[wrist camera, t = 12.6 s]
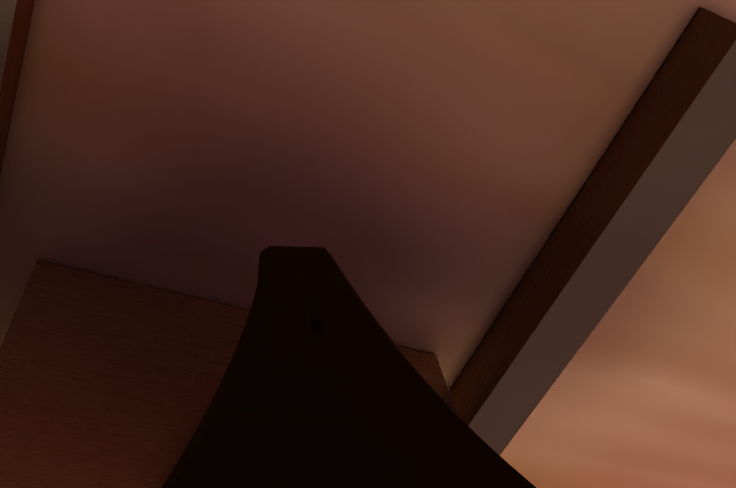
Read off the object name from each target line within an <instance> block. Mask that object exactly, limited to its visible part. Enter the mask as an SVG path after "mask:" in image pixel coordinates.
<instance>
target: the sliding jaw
mask: <svg viewBox="0 0 736 488" xmlns="http://www.w3.org/2000/svg"><path fill="white" fill-rule="evenodd" d="M249 312H250V311H248V310H244V309H240V308H236V307H232V306H227V305H223V304H219V303H215V302H211V301H206V300H202V299H198V298H194V297H190V296H185V295H181V294H177V293H173V292H169V291H164V290H160V289H156V288H152V287H148V286H143V285H139V284H135V283H131V282H127V281H122V280H118V279H114V278H110V277H106V276H102V275H97V274H93V273H89V272H85V271H81V270H76V269H72V268H68V267H64V266H60V265H55V264H51V263H47V262H43V261H39V260H37V261H36V264H35V266H34V269H33V271H32V273H31V276H30V278H29V281H28V283H27V285H26V288H25V290H24V293H23V295H22V297H21V300H20V302H19V305H18V307H17V309H16V312H15V314H14V317H13V319H12V321H11V324H10V326H9V329H8V331H7V333H6V336H5V338H4V341H3V343H2V345H1V348H0V488H161V487H162V485H163V484H164V482H165V481H166V479H167V478H168V476H169V475H170V473H171V472H172V470H173V468H174V467H175V465H176V463H177V462H178V460H179V458H180V457H181V455H182V453H183V452H184V450H185V448H186V446H187V445H188V443H189V441H190V440H191V438H192V436H193V434H194V433H195V431H196V429H197V427H198V426H199V424H200V422H201V420H202V418H203V416H204V414H205V412H206V411H207V409H208V407H209V405H210V403H211V401H212V399H213V397H214V395H215V393H216V391H217V389H218V386H219V384H220V382H221V380H222V378H223V376H224V374H225V372H226V369H227V367H228V365H229V363H230V361H231V359H232V357H233V354H234V352H235V350H236V347H237V345H238V342H239V340H240V337H241V334H242V331H243V329H244V326H245V323H246V321H247V318H248V315H249ZM397 347H398V348H399V350H400V351H401V352H402V353H403V355H404V356H405V357H406V358H407V359H408V361H409V362H410V363H411V364H412V365H413V367H414V368H415V369H416V370H417V371H418V372H419V374H420V375H421V376H422V377H423V378H424V379H425V380H426V381H427V383H428V384H429V385H430V386H431V387H432V388H433V389H434V390H435V391H436V393H437V394H438V395H439V396H440V397H441V398H442V399H443V400H444V401H445V402H446V404H447V405H448V406H449V407H450V408H451V409H452V410H453V411H454V412H455V413H456V410H455V407H454V404H453V402H452V399H451V396H450V393H449V391H448V388H447V385H446V382H445V379H444V377H443V374H442V371H441V368H440V366H439V363H438V360H437V357H436V355H433V354H429V353H424V352H420V351H416V350H412V349H408V348H403V347H399V346H397ZM456 414H457V413H456Z"/></svg>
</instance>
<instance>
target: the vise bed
mask: <svg viewBox="0 0 736 488" xmlns="http://www.w3.org/2000/svg"><path fill="white" fill-rule="evenodd" d="M34 1H35V0H0V171H1V166H2V161H3V156H4V151H5V146H6V141H7V136H8V131H9V126H10V121H11V116H12V111H13V106H14V101H15V96H16V91H17V86H18V81H19V76H20V71H21V66H22V61H23V56H24V51H25V46H26V41H27V36H28V31H29V26H30V21H31V16H32V11H33V6H34ZM735 139H736V23H734V22H732V21H730V20H728V19H726V18H723V17H721V16H719V15H717V14H715V13H713V12H710V11H708V10H706V9H704V8H702V7H701V8H700V10H699V11H698V13H697V14H696V16H695V17H694V19H693V20H692V22H691V23H690V25H689V27H688V28H687V30H686V31H685V33H684V34H683V36H682V37H681V39H680V40H679V42H678V43H677V45H676V46H675V48H674V49H673V51H672V52H671V54H670V56H669V57H668V59H667V60H666V62H665V63H664V65H663V66H662V68H661V69H660V71H659V72H658V74H657V75H656V77H655V78H654V80H653V82H652V83H651V85H650V86H649V88H648V89H647V91H646V92H645V94H644V95H643V97H642V98H641V100H640V101H639V103H638V104H637V106H636V108H635V109H634V111H633V112H632V114H631V115H630V117H629V118H628V120H627V121H626V123H625V124H624V126H623V127H622V129H621V130H620V132H619V134H618V135H617V137H616V138H615V140H614V141H613V143H612V144H611V146H610V147H609V149H608V150H607V152H606V153H605V155H604V156H603V158H602V159H601V161H600V163H599V164H598V166H597V167H596V169H595V170H594V172H593V173H592V175H591V176H590V178H589V179H588V181H587V182H586V184H585V185H584V187H583V189H582V190H581V192H580V193H579V195H578V196H577V198H576V199H575V201H574V202H573V204H572V205H571V207H570V208H569V210H568V211H567V213H566V215H565V216H564V218H563V219H562V221H561V222H560V224H559V225H558V227H557V228H556V230H555V231H554V233H553V234H552V236H551V237H550V239H549V240H548V242H547V244H546V245H545V247H544V248H543V250H542V251H541V253H540V254H539V256H538V257H537V259H536V260H535V262H534V263H533V265H532V266H531V268H530V270H529V271H528V273H527V274H526V276H525V277H524V279H523V280H522V282H521V283H520V285H519V286H518V288H517V289H516V291H515V292H514V294H513V296H512V297H511V299H510V300H509V302H508V303H507V305H506V306H505V308H504V309H503V311H502V312H501V314H500V315H499V317H498V318H497V320H496V321H495V323H494V325H493V326H492V328H491V329H490V331H489V332H488V334H487V335H486V337H485V338H484V340H483V341H482V343H481V344H480V346H479V347H478V349H477V351H476V352H475V354H474V355H473V357H472V358H471V360H470V361H469V363H468V364H467V366H466V367H465V369H464V370H463V372H462V373H461V375H460V377H459V378H458V380H457V381H456V383H455V384H454V386H453V387H452V389H451V390H450V392H449V393H450V396H451V399H452V402H453V404H454V407H455V410H456V413H457V415H458V416H459V417H460V418H461V419H462V420H463V421H464V422H465V423H466V424H467V425H468V426H469V427H470V428H471V429H472V430H473V431H474V432H475V433H476V434H477V435H478V436H479V437H480V438H481V439H482V440H483V441H485V442H486V443H487V444H488V445H489V446H490V447H491V448H492V449H493V450H494V451H495V452H496V453H497V454H498V455H499V456H500V454H501V453H502V452H503V450H504V449H505V448H506V446H507V445H508V444H509V442H510V441H511V440H512V438H513V437H514V436H515V434H516V433H517V432H518V430H519V429H520V428H521V426H522V425H523V424H524V422H525V421H526V419H527V418H528V417H529V415H530V414H531V413H532V411H533V410H534V409H535V407H536V406H537V405H538V403H539V402H540V401H541V399H542V398H543V397H544V395H545V394H546V393H547V391H548V390H549V389H550V387H551V386H552V385H553V383H554V382H555V381H556V379H557V378H558V376H559V375H560V374H561V372H562V371H563V370H564V368H565V367H566V366H567V364H568V363H569V362H570V360H571V359H572V358H573V356H574V355H575V354H576V352H577V351H578V350H579V348H580V347H581V346H582V344H583V343H584V342H585V340H586V339H587V338H588V336H589V335H590V333H591V332H592V331H593V329H594V328H595V327H596V325H597V324H598V323H599V321H600V320H601V319H602V317H603V316H604V315H605V313H606V312H607V311H608V309H609V308H610V307H611V305H612V304H613V303H614V301H615V300H616V299H617V297H618V296H619V295H620V293H621V292H622V290H623V289H624V288H625V286H626V285H627V284H628V282H629V281H630V280H631V278H632V277H633V276H634V274H635V273H636V272H637V270H638V269H639V268H640V266H641V265H642V264H643V262H644V261H645V260H646V258H647V257H648V256H649V254H650V253H651V252H652V250H653V249H654V247H655V246H656V245H657V243H658V242H659V241H660V239H661V238H662V237H663V235H664V234H665V233H666V231H667V230H668V229H669V227H670V226H671V225H672V223H673V222H674V221H675V219H676V218H677V217H678V215H679V214H680V213H681V211H682V210H683V209H684V207H685V206H686V204H687V203H688V202H689V200H690V199H691V198H692V196H693V195H694V194H695V192H696V191H697V190H698V188H699V187H700V186H701V184H702V183H703V182H704V180H705V179H706V178H707V176H708V175H709V174H710V172H711V171H712V170H713V168H714V167H715V166H716V164H717V163H718V161H719V160H720V159H721V157H722V156H723V155H724V153H725V152H726V151H727V149H728V148H729V147H730V145H731V144H732V143H733V141H734V140H735Z"/></svg>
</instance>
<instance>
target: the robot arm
mask: <svg viewBox="0 0 736 488" xmlns="http://www.w3.org/2000/svg"><path fill="white" fill-rule="evenodd" d="M161 488H536V487H535V486H534V485H533V484H531V483H530V482H529V481H528V480H527V479H525V478H524V477H523V476H522V475H521V474H520V473H519V472H517V471H516V470H515V469H514V468H513V467H512V466H510V465H509V464H508V463H507V462H506V461H505V460H504V459H503V458H502V457H500V456H499V455H498V454H497V453H496V452H495V451H494V450H493V449H492V448H491V447H490V446H489V445H488V444H487V443H486V442H485V441H483V440H482V439H481V438H480V437H479V436H478V435H477V434H476V433H475V432H474V431H473V430H472V429H471V428H470V427H469V426H468V425H467V424H466V423H465V422H464V421H463V420H462V419H461V418H460V417H459V416H458V415H457V414H456V413H455V412H454V411H453V410H452V409H451V408H450V407H449V406H448V405H447V404H446V402H445V401H444V400H443V399H442V398H441V397H440V396H439V395H438V394H437V393H436V391H435V390H434V389H433V388H432V387H431V386H430V385H429V384H428V383H427V381H426V380H425V379H424V378H423V377H422V376H421V375H420V374H419V372H418V371H417V370H416V369H415V368H414V367H413V365H412V364H411V363H410V362H409V361H408V359H407V358H406V357H405V356H404V355H403V353H402V352H401V351H400V350H399V348H398V347H397V346H396V345H395V343H394V342H393V341H392V340H391V338H390V337H389V336H388V335H387V333H386V332H385V331H384V329H383V328H382V327H381V326H380V324H379V323H378V322H377V320H376V319H375V318H374V316H373V315H372V314H371V312H370V311H369V310H368V308H367V307H366V306H365V304H364V303H363V301H362V300H361V299H360V297H359V296H358V294H357V293H356V292H355V290H354V289H353V287H352V286H351V284H350V283H349V281H348V280H347V279H346V277H345V276H344V274H343V273H342V271H341V270H340V268H339V266H338V265H337V263H336V262H335V260H334V259H333V257H332V256H331V254H330V253H329V252H328V251H327V250H326V249H325V248H320V247H284V246H269V247H267V248H266V249H265V250H263V251H262V252H261V253H260V258H259V271H258V284H257V289H256V292H255V296H254V299H253V303H252V307H251V310H250V312H249V315H248V318H247V321H246V323H245V326H244V329H243V331H242V334H241V337H240V340H239V342H238V345H237V347H236V350H235V352H234V354H233V357H232V359H231V361H230V363H229V365H228V367H227V369H226V372H225V374H224V376H223V378H222V380H221V382H220V384H219V386H218V389H217V391H216V393H215V395H214V397H213V399H212V401H211V403H210V405H209V407H208V409H207V411H206V412H205V414H204V416H203V418H202V420H201V422H200V424H199V426H198V427H197V429H196V431H195V433H194V434H193V436H192V438H191V440H190V441H189V443H188V445H187V446H186V448H185V450H184V452H183V453H182V455H181V457H180V458H179V460H178V462H177V463H176V465H175V467H174V468H173V470H172V472H171V473H170V475H169V476H168V478H167V479H166V481H165V482H164V484H163V485H162V487H161Z"/></svg>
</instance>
